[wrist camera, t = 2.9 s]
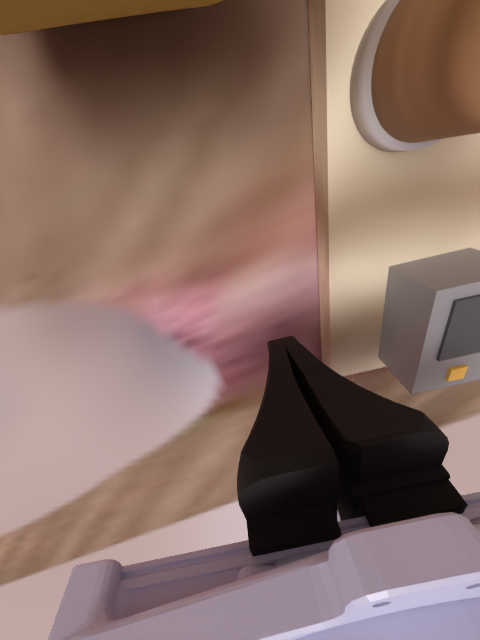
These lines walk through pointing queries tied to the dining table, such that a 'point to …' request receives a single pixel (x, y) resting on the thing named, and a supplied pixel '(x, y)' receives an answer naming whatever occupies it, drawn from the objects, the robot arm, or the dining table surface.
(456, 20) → the brown cylinder
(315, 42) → the board
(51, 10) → the flower pot
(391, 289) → the box
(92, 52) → the dining table surface
